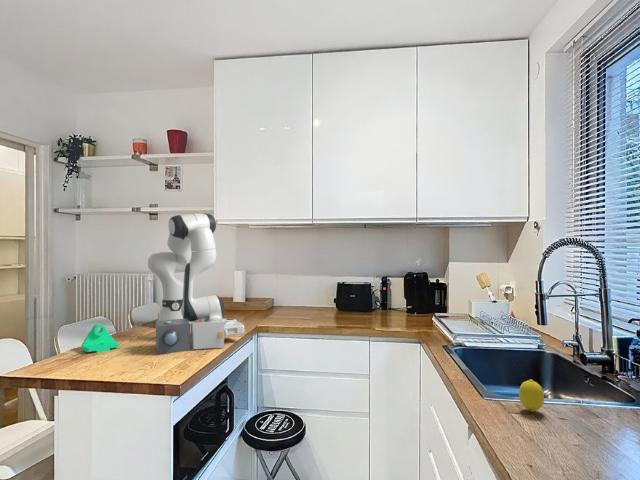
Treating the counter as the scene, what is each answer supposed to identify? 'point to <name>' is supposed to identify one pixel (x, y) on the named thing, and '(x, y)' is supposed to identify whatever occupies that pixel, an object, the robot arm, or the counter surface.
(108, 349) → the camera mount
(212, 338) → the side door
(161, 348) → the camera housing
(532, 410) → the lemon
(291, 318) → the counter surface
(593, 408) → the counter surface
